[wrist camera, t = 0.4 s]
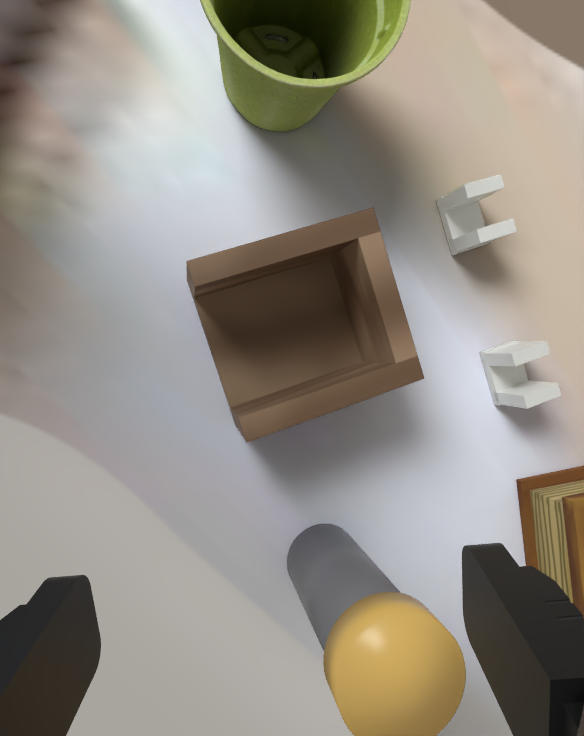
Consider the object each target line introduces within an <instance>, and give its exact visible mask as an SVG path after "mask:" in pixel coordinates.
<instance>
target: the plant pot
mask: <svg viewBox="0 0 584 736" xmlns="http://www.w3.org/2000/svg"><path fill="white" fill-rule="evenodd" d="M200 1H201V4H202V7H203V10H204V12H205V14H206V17H207V19H208V21H209V22H210V24H211V26H212V28H213V29H214V31H215V33H216V34H217V40H218V46H219V53H220V62H221V69H222V76H223V82H224V87H225V90H226V93H227V96H228V98H229V100H230V101H231V102H232V104H233V105H234V106H235V107H236V109H237V110H238V111H239V112H240V113H241V114H242V115H243V116H244V117H245V118H246V120H247V121H249V122H250V123H252V124H253V125H255V126H257V127H260V128H262V129H266V130H270V131H290V130H294V129H297V128H299V127H301V126H303V125H304V124H306V123H307V122H308V121H310V120H311V119H312V118H313V117H314V116H315V115H316V114H317V113H318V112H319V111H320V110H321V109H322V108H323V106H324V105H325V104H326V103H327V102H328V101H329V100H330V99H331V97H332V96H333V95H334V94H335V93H336V92H337V91H338V90H339V89H340V87H341V86H344V85H347V84H350V83H353V82H355V81H357V80H359V79H361V78H363V77H364V76H366V75H367V74H369V73H370V72H372V71H373V70H374V69H375V68H377V67H378V66H379V65H380V64H381V63H382V62H383V61H384V60H385V58H386V57H387V56H388V55H389V54H390V53H391V51H392V50H393V49H394V47H395V46H396V44H397V42H398V41H399V39H400V37H401V34H402V32H403V30H404V27H405V25H406V21H407V18H408V14H409V9H410V3H411V0H200ZM267 34H275V35H276V34H280V35H283V36H286V37H287V38H288V40H289V41H288V42H287V43H286V42H282V41H278V40H271V39H268V40H267V39H266V38H265V37H266V35H267ZM313 72H315V74H316V75H317V78H318V79H313Z"/></svg>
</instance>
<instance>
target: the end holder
mask: <svg viewBox="0 0 584 736" xmlns="http://www.w3.org/2000/svg"><path fill="white" fill-rule="evenodd" d="M187 282H188V285H189V288H190V291H191V294H192V297H193V299H194V302H195V305H196V308H197V311H198V314H199V317H200V320H201V323H202V326H203V329H204V332H205V335H206V338H207V341H208V344H209V347H210V350H211V353H212V356H213V359H214V362H215V365H216V368H217V371H218V374H219V377H220V380H221V383H222V386H223V389H224V392H225V395H226V398H227V401H228V404H229V407H230V410H231V413H232V416H233V419H234V422H235V425H236V427H237V428H238V430H239V431H240V433H241V434H242V436H243V437H244V439H245V440H246V442H249V441H252V440H255V439H258V438H260V437H263V436H266V435H269V434H272V433H274V432H277V431H280V430H283V429H285V428H288V427H291V426H294V425H297V424H299V423H302V422H305V421H308V420H310V419H313V418H316V417H319V416H321V415H324V414H327V413H330V412H333V411H335V410H338V409H341V408H344V407H346V406H349V405H352V404H355V403H358V402H360V401H363V400H366V399H369V398H371V397H374V396H377V395H380V394H383V393H385V392H388V391H391V390H394V389H396V388H399V387H402V386H405V385H407V384H410V383H413V382H416V381H419V380H421V379H424V376H423V373H422V369H421V366H420V362H419V359H418V356H417V352H416V349H415V346H414V342H413V339H412V336H411V332H410V329H409V326H408V322H407V319H406V315H405V312H404V309H403V305H402V302H401V299H400V295H399V292H398V289H397V285H396V282H395V279H394V275H393V272H392V268H391V265H390V262H389V258H388V255H387V252H386V248H385V245H384V242H383V238H382V235H381V232H380V228H379V225H378V221H377V218H376V215H375V211H374V208H370V209H367V210H363V211H360V212H356V213H353V214H349V215H346V216H342V217H339V218H335V219H332V220H328V221H325V222H321V223H318V224H314V225H311V226H307V227H304V228H300V229H297V230H294V231H290V232H287V233H283V234H280V235H276V236H273V237H269V238H266V239H262V240H259V241H255V242H252V243H248V244H245V245H241V246H238V247H234V248H231V249H227V250H224V251H220V252H217V253H213V254H210V255H207V256H203V257H200V258H196V259H193V260H189V261H187Z"/></svg>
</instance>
